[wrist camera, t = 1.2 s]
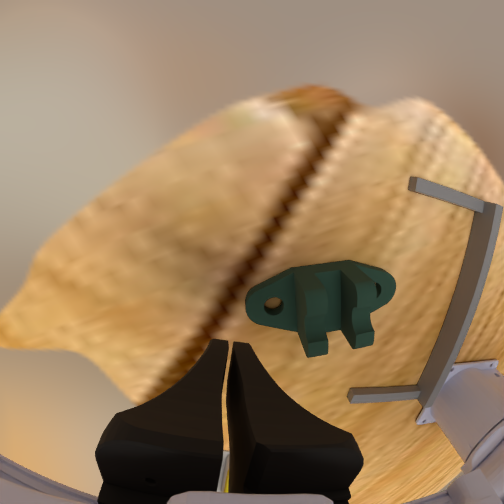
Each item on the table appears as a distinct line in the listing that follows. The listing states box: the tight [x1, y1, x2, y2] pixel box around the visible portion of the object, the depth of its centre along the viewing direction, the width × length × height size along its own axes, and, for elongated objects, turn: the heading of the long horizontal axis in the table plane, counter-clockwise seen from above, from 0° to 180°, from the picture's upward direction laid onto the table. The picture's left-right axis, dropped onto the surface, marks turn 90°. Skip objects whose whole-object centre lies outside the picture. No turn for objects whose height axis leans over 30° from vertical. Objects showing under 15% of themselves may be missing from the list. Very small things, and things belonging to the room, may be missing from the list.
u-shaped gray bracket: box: [347, 177, 503, 408], centre depth 21 cm, size 8×19×2 cm, turn 171°
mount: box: [245, 260, 396, 358], centre depth 19 cm, size 11×4×5 cm, turn 96°
